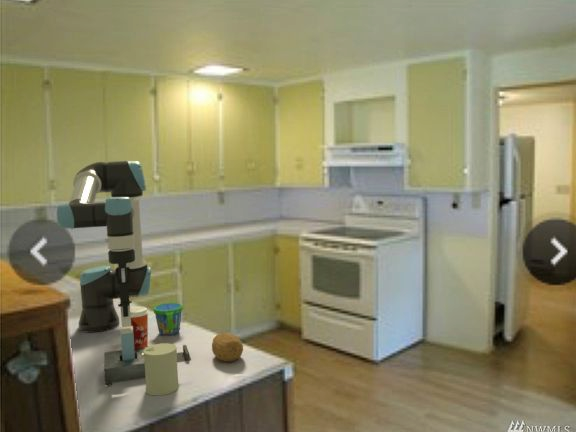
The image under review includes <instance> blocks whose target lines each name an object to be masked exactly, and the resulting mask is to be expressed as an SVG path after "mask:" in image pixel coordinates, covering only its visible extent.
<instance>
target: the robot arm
mask: <svg viewBox="0 0 576 432" xmlns="http://www.w3.org/2000/svg"><path fill="white" fill-rule="evenodd" d="M143 171H144V170H143V166H142V164H141V163H140V161H138V160H137V161H136V160H119V161H118V160H116V161H97V162H94V163H91V164H88V165H86V166H85V167H83V168H82V169H80V170H79V171H78V172H77V173H76V175H75V176H74V179H73V180H72V181H73V183H72V184H73V185H72V186H73V190H72V192H71V193H72V194H71V196H70V199H69V200H68V203H64V204H59V205H58V206H57V207H56V208H57V209H56V221H57V225H58V227H59V228H60V229H63V230H65V229H66V230H67V229H71V230H73V229H86V228H97V227H98V228H99V227H100V228H101V227H102V228H103V227H104V228H105V227H106V236H107V238H105V240H104V242H105V243H107V248H108V252H107V254H108V256H107V257H108V262H109V264H112V265H116V268H115V269H112V267H111V266H110V265H99V266H96V267H91V268H88V269H86V270H84V271H82V272H81V273H80V274H79V275H80V276H79V281H80V282H79V286H80V296H81V306H82V307H81V313H80V315H79V316H80V317H79V320H78V330H79V331H80V332H84V333H85V332H86V333H98V332H99V333H100V332H104V331H109V330H112V329H114V328H117V327H118V326H119V325H120V320H121V327H128V326H131V315H130V308H131V305H130V304H132V301H133V300H130V298H139V297H145V296H147V295H149V293H150V287H151V273H152V266H149V265H148V261H146V260H145V259H144V255H143V244H142V243H143V241H142V239H143V238H142V228H141V227H142V226H141V211H140V199H141V198H143V196H144V195H143V192H146V191H147V186H146V181H145V176H144V172H143ZM98 193H110V197H108V198H106V199H105V200H104V202H95V201H96V197H97V195H98ZM116 299H117V300H120V301H119V303H118V304H117V307H119V308H120V316H121V317H120V316H119V314H118V312H117V311H116V307H115V303H114V300H116ZM120 318H121V319H120Z"/></svg>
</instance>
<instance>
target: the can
mask: <svg viewBox="0 0 576 432" xmlns="http://www.w3.org/2000/svg"><path fill="white" fill-rule="evenodd" d="M177 349H178V347H177V346H176V344H173V343H165V342H161V343H156V344H151V345H149V347H147V348H145V349H144V351H143V352H144V362H145V377H146V378H145V392H146V393H147V394H148V395H152V396H163V395H164V396H165V395H169V394H172V393H174V392H176V391H177V390H178V389H179V388H180V384H179V374H178V373H179V372H178V362H177V353H178V352H177Z"/></svg>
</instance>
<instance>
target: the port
mask: <svg viewBox="0 0 576 432" xmlns="http://www.w3.org/2000/svg"><path fill="white" fill-rule="evenodd" d="M149 346H150V345H149ZM149 346H147V347H149ZM147 347H140V348H134V351H135V359H132V360H125V361H123V360H122V349H120V350H119V349H118V350H112V351H105V352H104V354H103V355H104V359H103V377H104V386H105V387H106V386H107V385H108V386H112V385H113V384H114V383H121V382H126V381H133V380H140V379H146V377H145V362H144V352H143V351H144V349H145V348H147ZM108 386H107V387H108Z"/></svg>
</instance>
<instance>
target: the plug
mask: <svg viewBox="0 0 576 432" xmlns="http://www.w3.org/2000/svg"><path fill="white" fill-rule="evenodd" d="M119 329H120V341H121V342H120V343H121V344H120V345H121V350H122V360H123V361H125V360H132V359H135V351H134V335H133V326H128V327H122V326H121V327H120V328H119Z"/></svg>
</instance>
